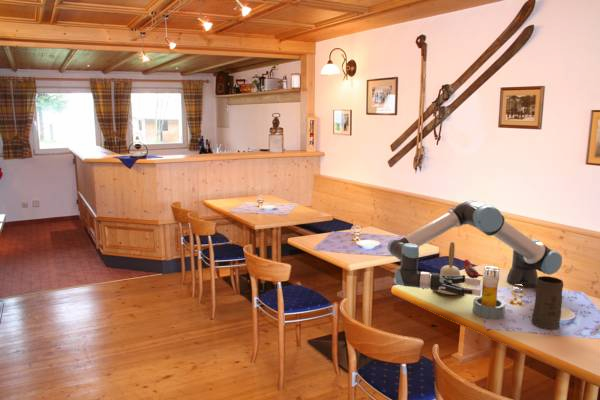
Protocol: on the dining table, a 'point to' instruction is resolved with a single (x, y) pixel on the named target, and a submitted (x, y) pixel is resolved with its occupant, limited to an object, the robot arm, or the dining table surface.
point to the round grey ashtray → (488, 309)
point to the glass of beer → (489, 291)
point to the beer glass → (491, 272)
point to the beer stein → (547, 302)
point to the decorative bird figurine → (470, 270)
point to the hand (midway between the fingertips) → (480, 287)
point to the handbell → (450, 269)
